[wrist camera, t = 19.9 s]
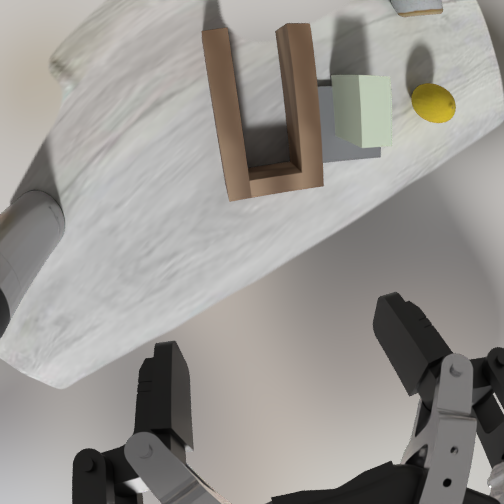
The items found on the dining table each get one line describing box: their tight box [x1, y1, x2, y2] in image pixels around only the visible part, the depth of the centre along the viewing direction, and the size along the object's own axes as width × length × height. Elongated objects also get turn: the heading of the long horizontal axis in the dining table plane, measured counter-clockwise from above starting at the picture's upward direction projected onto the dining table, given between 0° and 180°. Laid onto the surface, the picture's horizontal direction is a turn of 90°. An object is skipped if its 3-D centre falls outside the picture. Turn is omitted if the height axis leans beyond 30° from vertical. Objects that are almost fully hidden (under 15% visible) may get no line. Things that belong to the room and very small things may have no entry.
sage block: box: [331, 75, 392, 148], centre depth 29 cm, size 4×8×7 cm, turn 7°
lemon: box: [412, 83, 456, 123], centre depth 30 cm, size 6×6×8 cm
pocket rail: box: [202, 23, 324, 202], centre depth 30 cm, size 11×19×5 cm, turn 7°
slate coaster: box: [317, 86, 381, 163], centre depth 34 cm, size 10×10×1 cm
